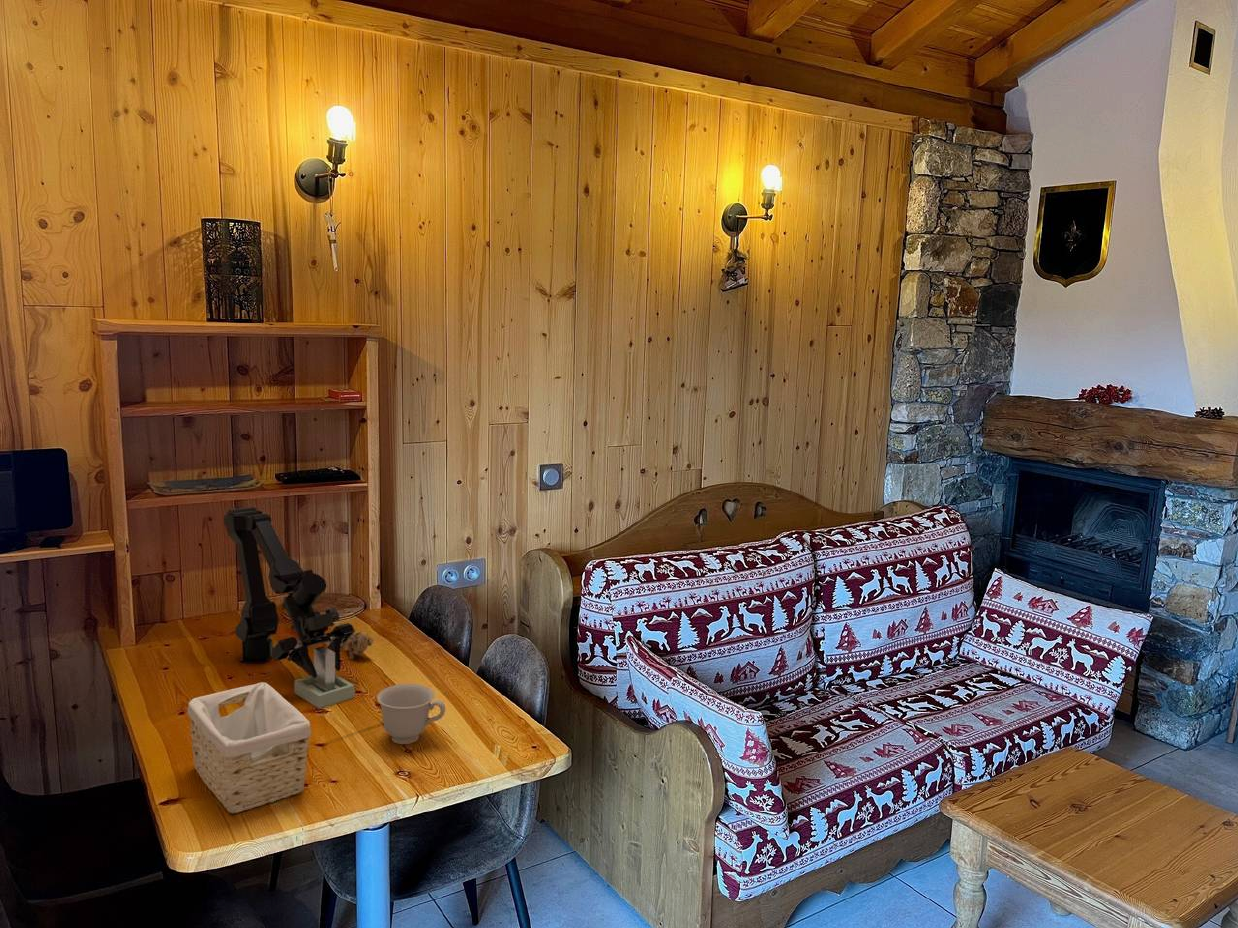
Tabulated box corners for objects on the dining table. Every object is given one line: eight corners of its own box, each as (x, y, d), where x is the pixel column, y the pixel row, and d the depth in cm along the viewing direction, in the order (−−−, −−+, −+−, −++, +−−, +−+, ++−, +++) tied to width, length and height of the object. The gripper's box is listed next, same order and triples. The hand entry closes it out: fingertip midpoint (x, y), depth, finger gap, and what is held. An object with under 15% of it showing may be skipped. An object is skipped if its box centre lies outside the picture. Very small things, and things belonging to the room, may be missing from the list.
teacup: (432, 757, 190) (433, 712, 188) (366, 746, 193) (367, 702, 191) (454, 731, 202) (455, 689, 200) (391, 721, 204) (392, 680, 203)
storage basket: (186, 766, 181) (184, 697, 178) (267, 744, 192) (267, 678, 189) (226, 822, 163) (225, 746, 161) (314, 794, 174) (314, 722, 171)
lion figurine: (375, 665, 234) (376, 632, 233) (357, 670, 231) (357, 636, 229) (347, 647, 244) (347, 615, 243) (328, 652, 241) (328, 620, 239)
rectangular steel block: (314, 692, 213) (314, 648, 211) (323, 689, 215) (323, 646, 213) (325, 699, 210) (325, 654, 208) (334, 696, 212) (334, 652, 210)
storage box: (294, 696, 213) (294, 680, 212) (329, 685, 219) (329, 670, 219) (319, 712, 206) (319, 696, 205) (354, 701, 212) (354, 685, 211)
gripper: (277, 607, 204) (302, 668, 199) (351, 590, 218) (376, 647, 212) (260, 630, 210) (285, 690, 205) (333, 613, 224) (357, 668, 219)
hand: (327, 673), depth 210 cm, fingers open, 6 cm apart
